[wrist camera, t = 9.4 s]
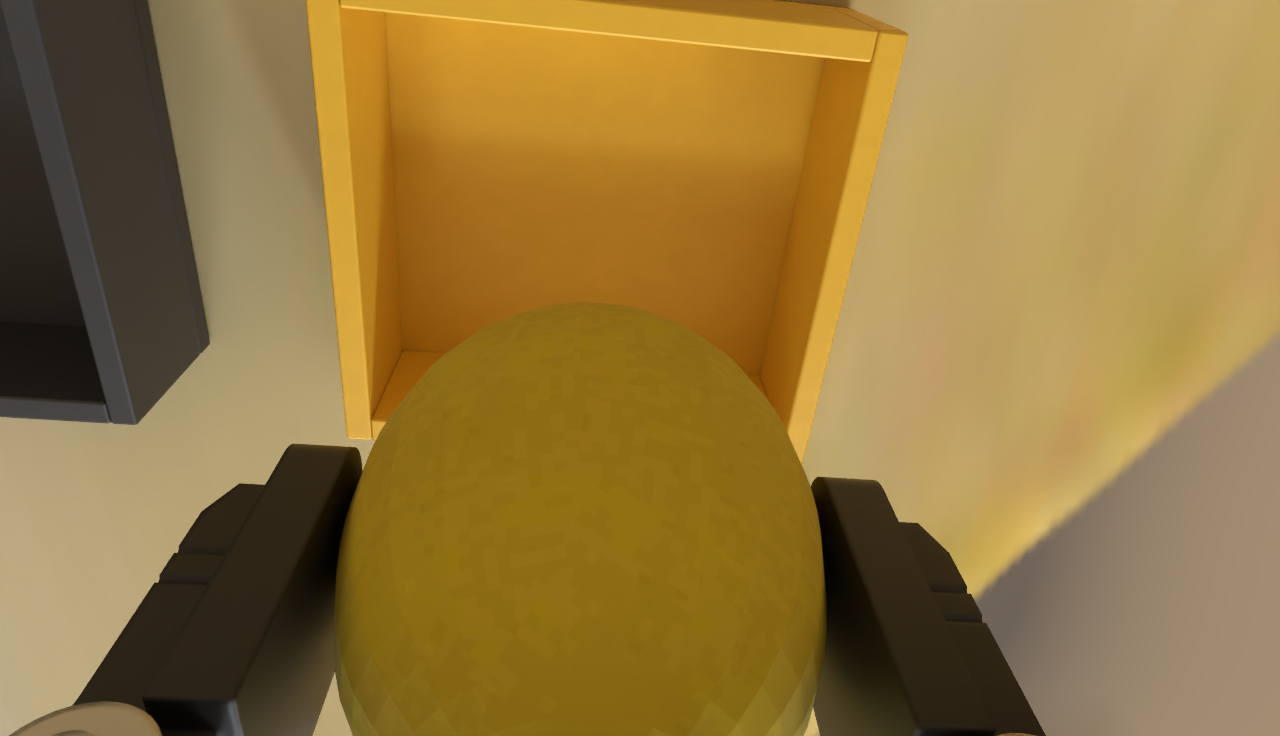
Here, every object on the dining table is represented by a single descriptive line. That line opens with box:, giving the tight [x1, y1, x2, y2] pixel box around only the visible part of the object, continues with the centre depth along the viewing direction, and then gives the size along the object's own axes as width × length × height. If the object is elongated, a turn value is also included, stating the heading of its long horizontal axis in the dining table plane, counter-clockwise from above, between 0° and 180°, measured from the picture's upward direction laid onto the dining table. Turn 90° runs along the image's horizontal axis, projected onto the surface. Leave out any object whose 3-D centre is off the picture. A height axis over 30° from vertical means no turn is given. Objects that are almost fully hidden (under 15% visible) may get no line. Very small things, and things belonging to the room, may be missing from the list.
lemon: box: [334, 301, 827, 736], centre depth 10 cm, size 6×6×8 cm
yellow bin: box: [306, 0, 908, 464], centre depth 19 cm, size 11×10×4 cm
